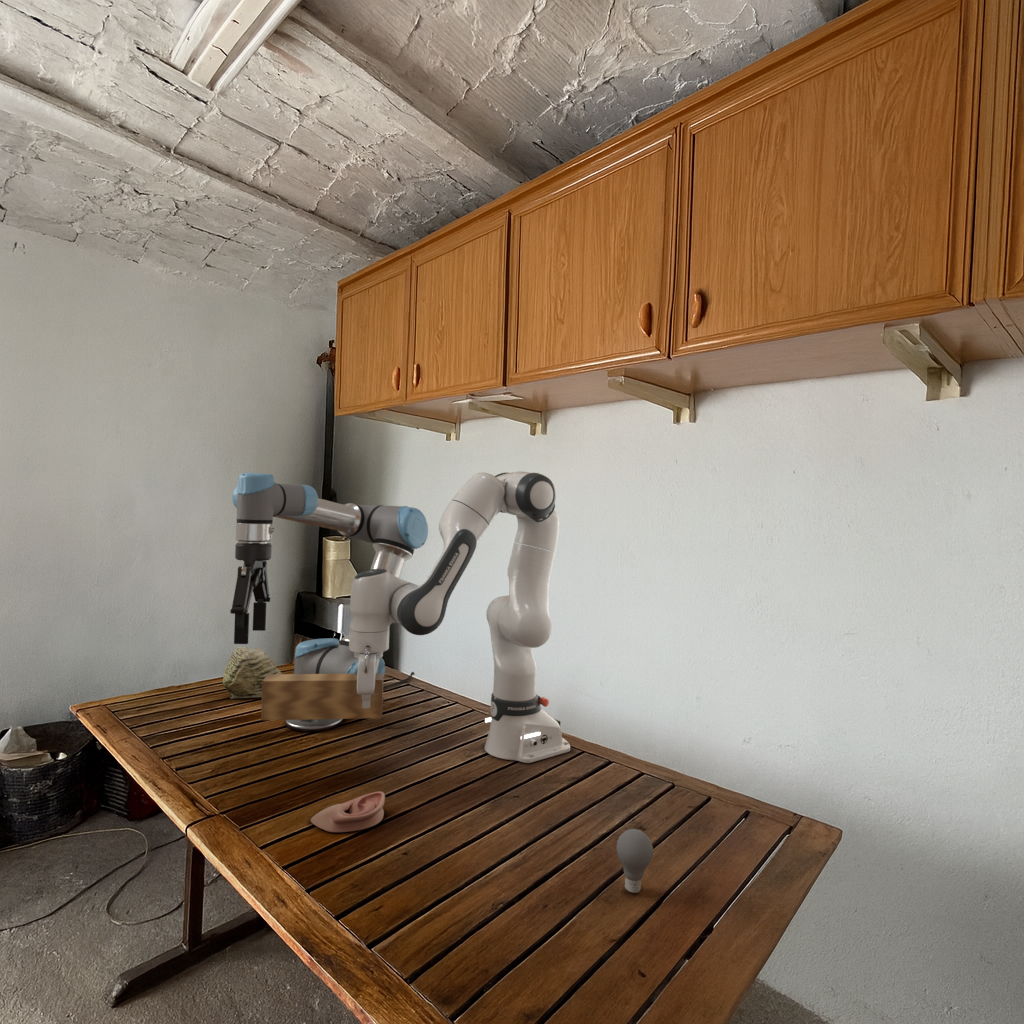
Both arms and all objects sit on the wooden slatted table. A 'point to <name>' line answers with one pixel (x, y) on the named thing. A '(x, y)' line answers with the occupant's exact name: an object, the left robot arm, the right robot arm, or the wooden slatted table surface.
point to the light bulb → (634, 857)
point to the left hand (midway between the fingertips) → (250, 636)
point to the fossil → (247, 672)
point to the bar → (317, 697)
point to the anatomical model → (352, 814)
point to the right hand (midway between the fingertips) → (367, 702)
